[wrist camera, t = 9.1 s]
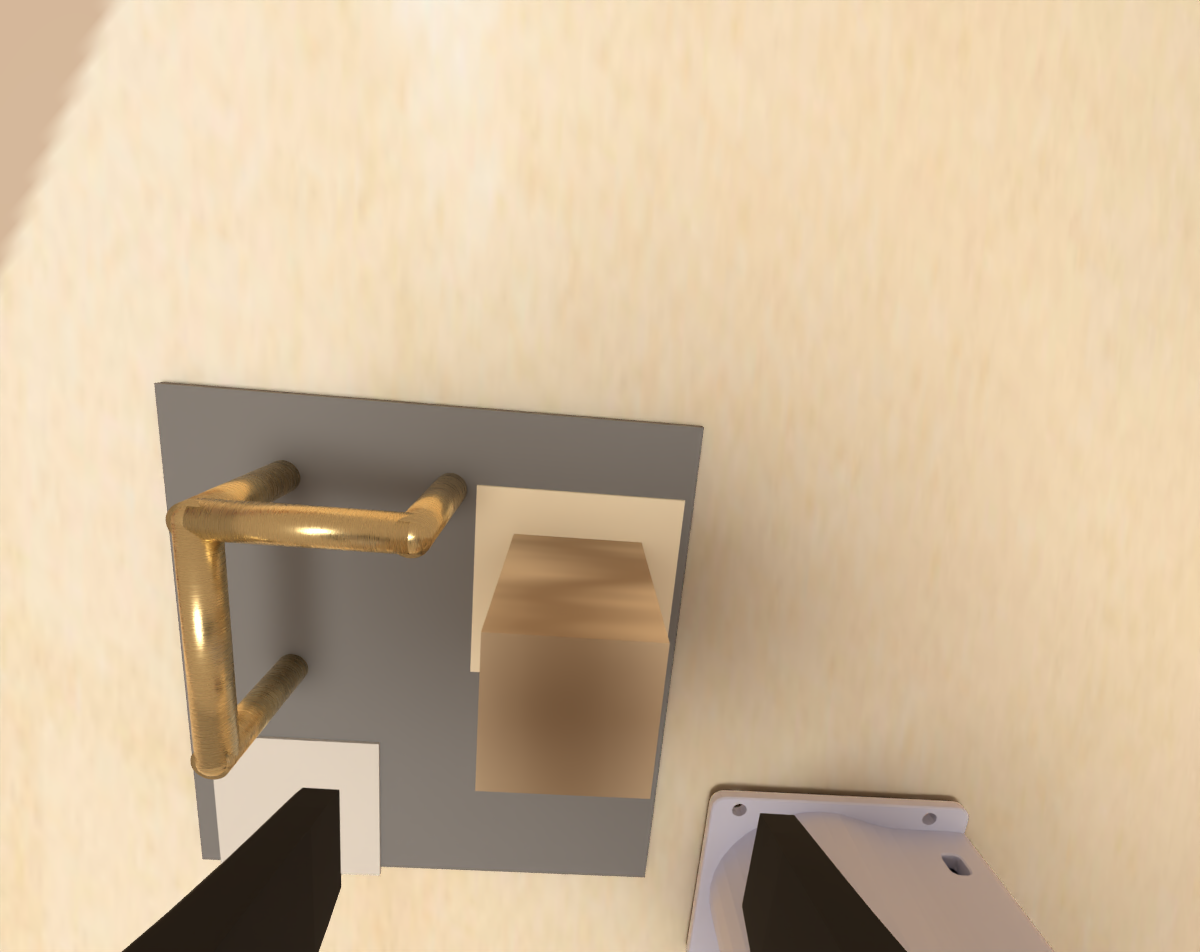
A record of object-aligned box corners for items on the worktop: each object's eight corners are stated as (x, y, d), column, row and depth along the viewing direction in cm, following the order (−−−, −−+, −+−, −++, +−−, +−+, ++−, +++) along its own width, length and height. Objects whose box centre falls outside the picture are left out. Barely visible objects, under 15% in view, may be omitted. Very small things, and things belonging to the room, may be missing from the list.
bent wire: (467, 474, 17) (429, 522, 13) (461, 690, 19) (425, 795, 15) (265, 458, 17) (157, 502, 13) (277, 679, 19) (187, 784, 15)
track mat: (701, 426, 18) (704, 428, 17) (642, 876, 22) (643, 886, 21) (161, 382, 17) (151, 383, 16) (208, 858, 21) (201, 868, 21)
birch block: (641, 542, 18) (669, 642, 12) (629, 655, 19) (649, 798, 13) (513, 533, 18) (480, 632, 12) (508, 648, 19) (475, 791, 13)
